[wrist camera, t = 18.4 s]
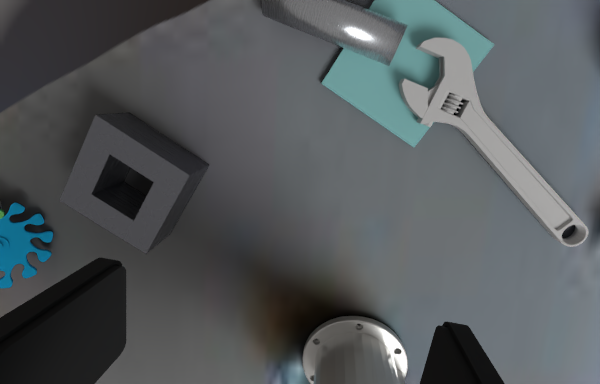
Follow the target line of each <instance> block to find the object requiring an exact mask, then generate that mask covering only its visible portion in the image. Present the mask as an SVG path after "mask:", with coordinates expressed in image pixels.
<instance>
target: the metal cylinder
mask: <svg viewBox="0 0 600 384" xmlns="http://www.w3.org/2000/svg"><path fill="white" fill-rule="evenodd" d="M261 8H262V14H263V16H265V17H268V18H270V19H273V20H275V21H278V22H280V23H283V24H285V25H288V26H290V27H293V28H295V29H298V30H300V31H303V32H305V33H308V34H310V35H313V36H315V37H318V38H320V39H323V40H325V41H328V42H330V43H332V44H335V45H337V46H340V47H342V48H345V49H347V50H350V51H352V52H355V53H357V54H360V55H362V56H365V57H367V58H370V59H372V60H375V61H377V62H380V63H382V64H385V65H387V66H389V65H390V63H391V61H392V59H393V57H394V55H395V53H396V51H397V49H398V46H399V44H400V42H401V40H402V37H403V35H404V33H405V30H406V28H407V24H404V23H402V22H399V21H397V20H394V19H392V18H389V17H386V16H384V15H381V14H379V13H376V12H374V11H371V10H369V9H366V8H363V7H361V6H358V5H356V4H353V3H351V2H348V1H346V0H262V6H261Z"/></svg>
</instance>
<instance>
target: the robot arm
mask: <svg viewBox="0 0 600 384" xmlns="http://www.w3.org/2000/svg"><path fill="white" fill-rule="evenodd" d="M125 344H126V269H125V268H124V267H122V264H121V262H120V261H116V260H111V259H106V258H98V259H96V260H94V261H92V262H91V263H89V264H88V265H86V266H84V267H83V268H81V269H79V270H78V271H76V272H74V273H73V274H71V275H70V276H68V277H66V278H65V279H63V280H61V281H60V282H58V283H56V284H55V285H53V286H51V287H50V288H48V289H47V290H45V291H43V292H42V293H40V294H38V295H37V296H35V297H33V298H32V299H30V300H29V301H27V302H25V303H24V304H22V305H20V306H19V307H17V308H15V309H14V310H12V311H11V312H9V313H7V314H6V315H4V316H2V317H1V318H0V384H95V382H96V381H97V380H98V379H99V378H100V377H101V376H102V375H103V373H104V372H105V371H106V370H107V369H108V368H109V367H110V366H111V364H112V363H113V362H114V361H115V360H116V359H117V358H118V357H119V356H120V354H121V353H122V351H123V350H124V347H125ZM303 368H304V372H305V375H306V377H307V379H308V381H309V382H310V383H311V384H405V382H404V379H405V377H406V375H407V369H408V359H407V355H406V351H405V348H404V346H403V344H402V342H401V340H400V339H399V337H398V336H397V335H396V334H395V333H394V332H393V331H392V330H391V329H390V328H389V327H387V326H386V325H384V324H383V323H381V322H378V321H376V320H374V319H371V318H366V317H362V316H343V317H338V318H334V319H331V320H329V321H327V322H325V323H323V324H321V325H320V326H319V327H317V328H316V329H315V330H314V331H313V332H312V333H311V334H310V336H309V337H308V339H307V341H306V343H305V346H304V350H303ZM420 384H504V382H503V380H502V379H501V377H500V376H499V374H498V373H497V371H496V369H495V368H494V366H493V365H492V363H491V361H490V360H489V358H488V357H487V355H486V353H485V352H484V350H483V349H482V347H481V345H480V344H479V342H478V341H477V339H476V337H475V336H474V334H473V333H472V331H471V329H470V328H469V327H468V326H467V325H462V324H457V323H452V322H444V324H443V325H442V326H437V327H436V330H435V333H434V336H433V340H432V343H431V347H430V350H429V354H428V357H427V361H426V364H425V368H424V371H423V374H422V378H421V381H420Z"/></svg>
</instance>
